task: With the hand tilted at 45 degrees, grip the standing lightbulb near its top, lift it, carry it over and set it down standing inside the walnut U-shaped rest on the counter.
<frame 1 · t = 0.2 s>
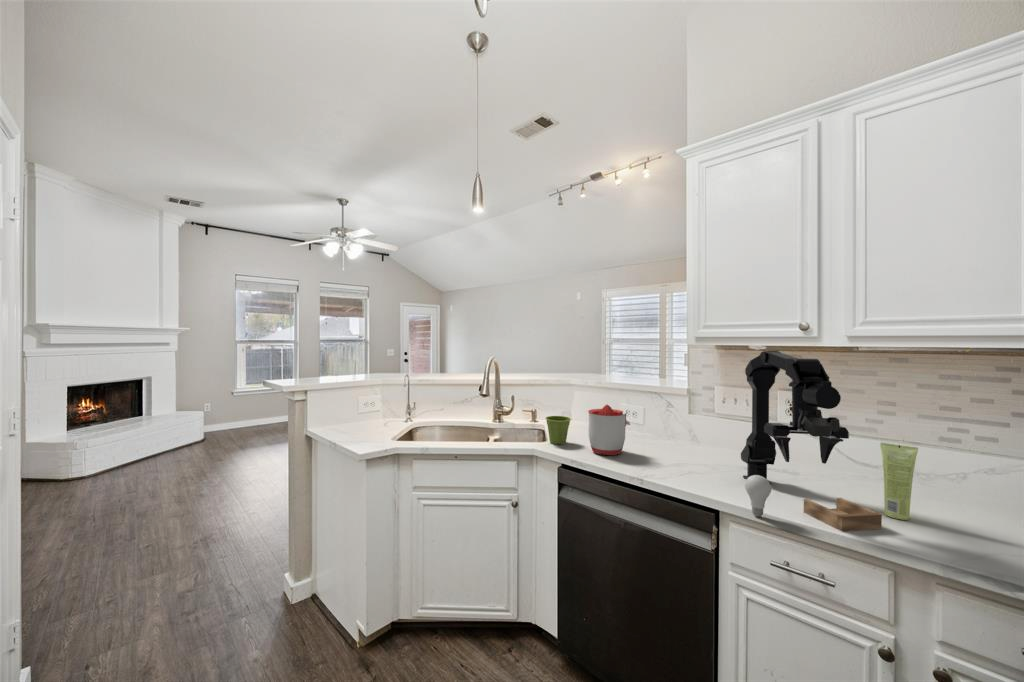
hand: (805, 462, 113), 14 cm above the table, tool pointing down, fingers open, 9 cm apart
tube: (897, 517, 113), on the table
plant pot: (558, 443, 190), on the table
citrus juicer: (608, 452, 175), on the table
lightbulb: (757, 517, 112), on the table
u rest: (840, 520, 110), on the table
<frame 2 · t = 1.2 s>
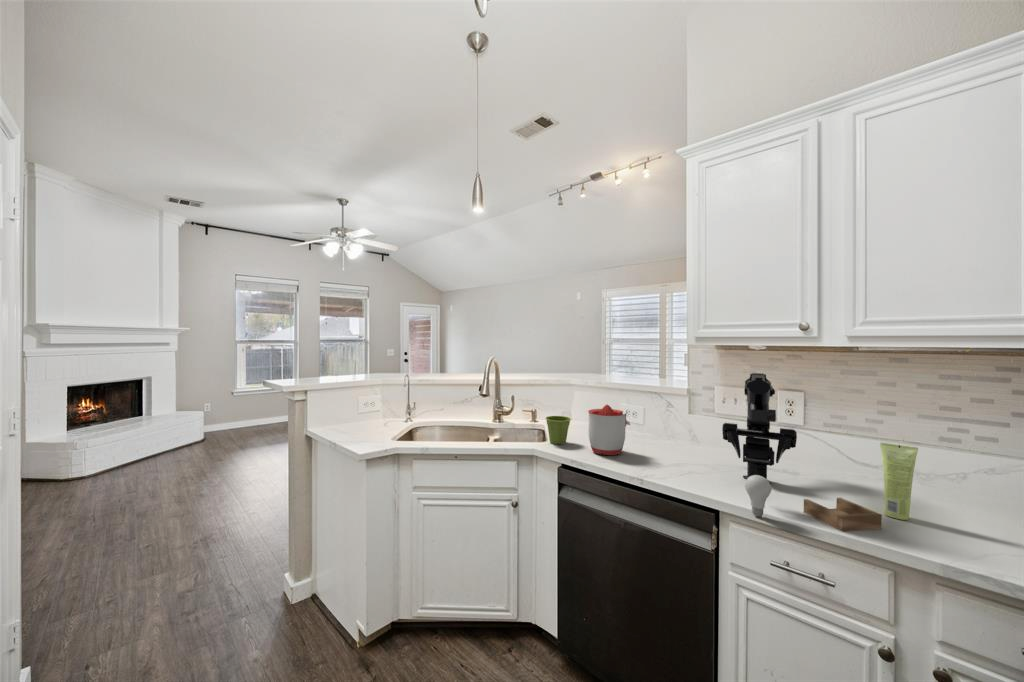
hand: (757, 459, 119), 13 cm above the table, tool tilted 45°, fingers open, 9 cm apart
nothing on the table moved.
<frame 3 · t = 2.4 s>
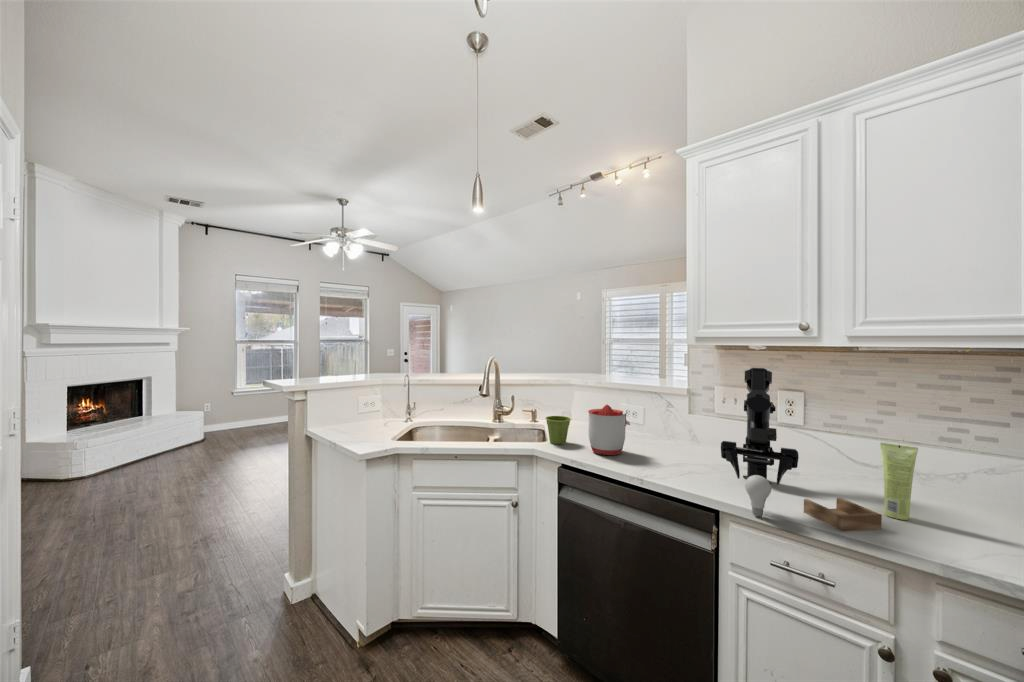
hand: (757, 480, 113), 9 cm above the table, tool tilted 45°, fingers open, 9 cm apart
nothing on the table moved.
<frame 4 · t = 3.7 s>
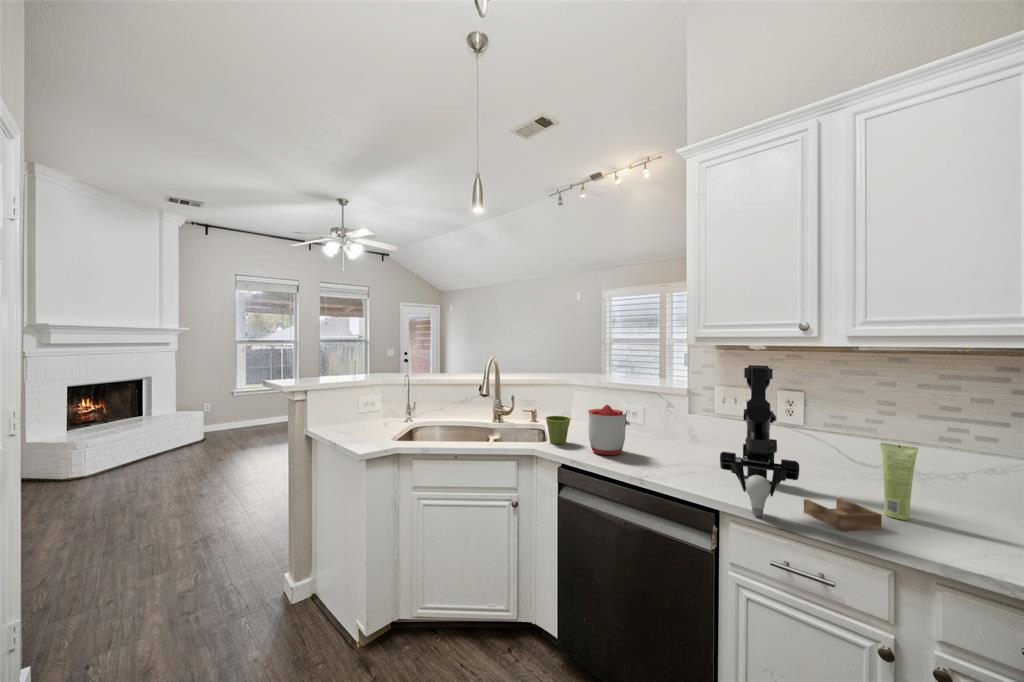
hand: (757, 493, 111), 7 cm above the table, tool tilted 45°, fingers closed on lightbulb, 6 cm apart
lightbulb: (757, 517, 112), on the table, touching gripper
everything else where it was.
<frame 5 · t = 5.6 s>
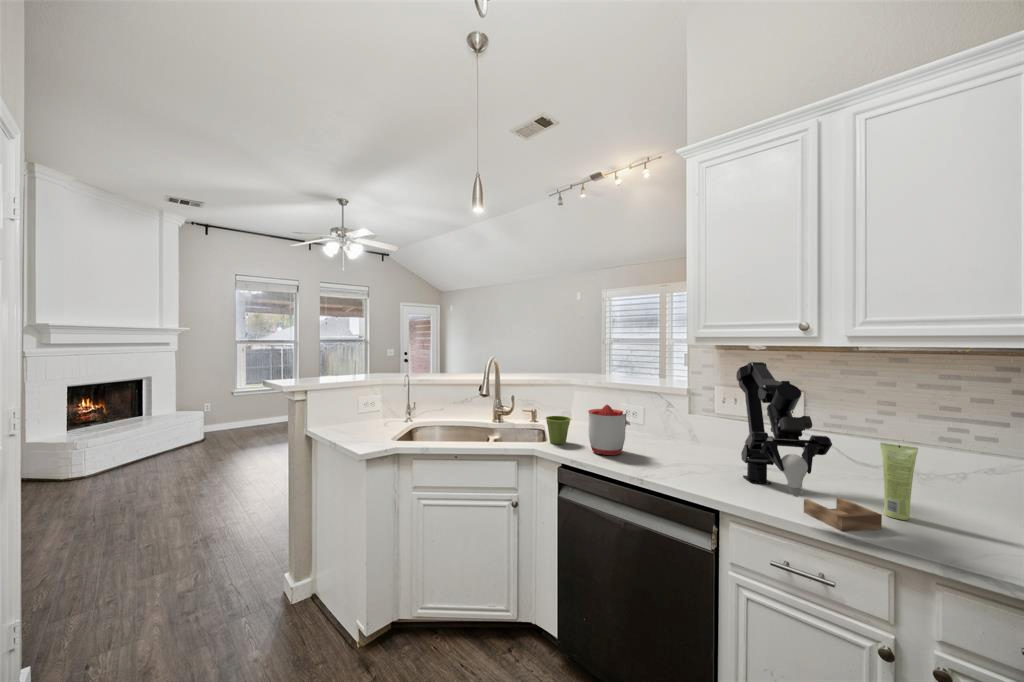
hand: (796, 471, 108), 13 cm above the table, tool tilted 45°, fingers closed on lightbulb, 6 cm apart
lightbulb: (795, 497, 110), point 6 cm above the table, touching gripper
everything else where it was.
when the fingers open (8 cm above the table, at t = 7.7 s): lightbulb stays where it is, resting on u rest.
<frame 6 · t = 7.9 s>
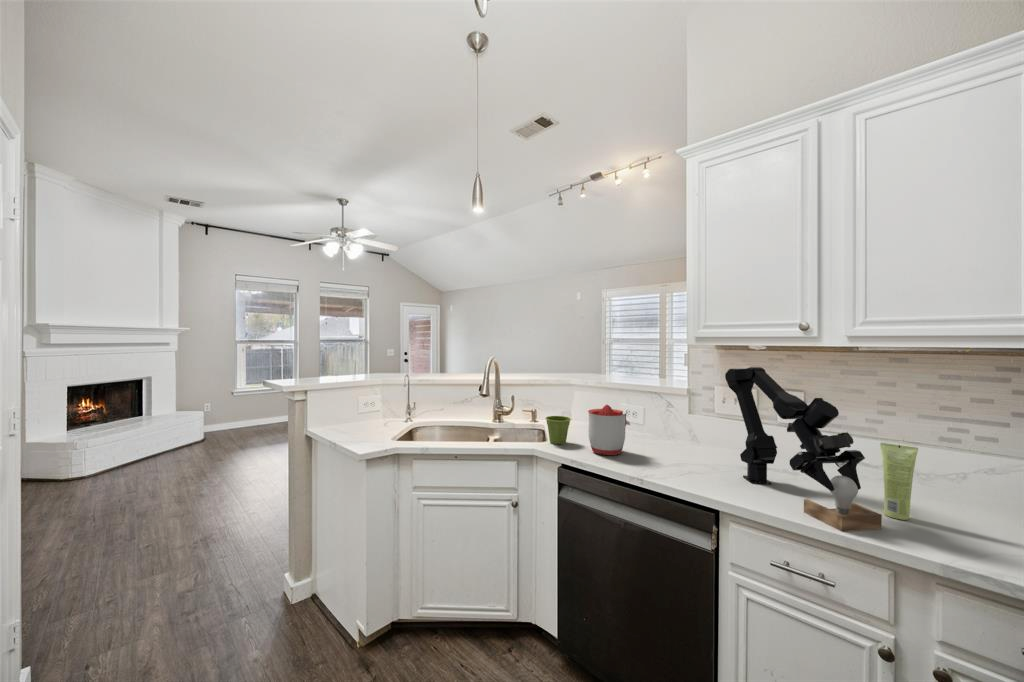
hand: (846, 489, 109), 9 cm above the table, tool tilted 45°, fingers open, 7 cm apart
lightbulb: (842, 518, 110), resting on u rest
everything else where it was.
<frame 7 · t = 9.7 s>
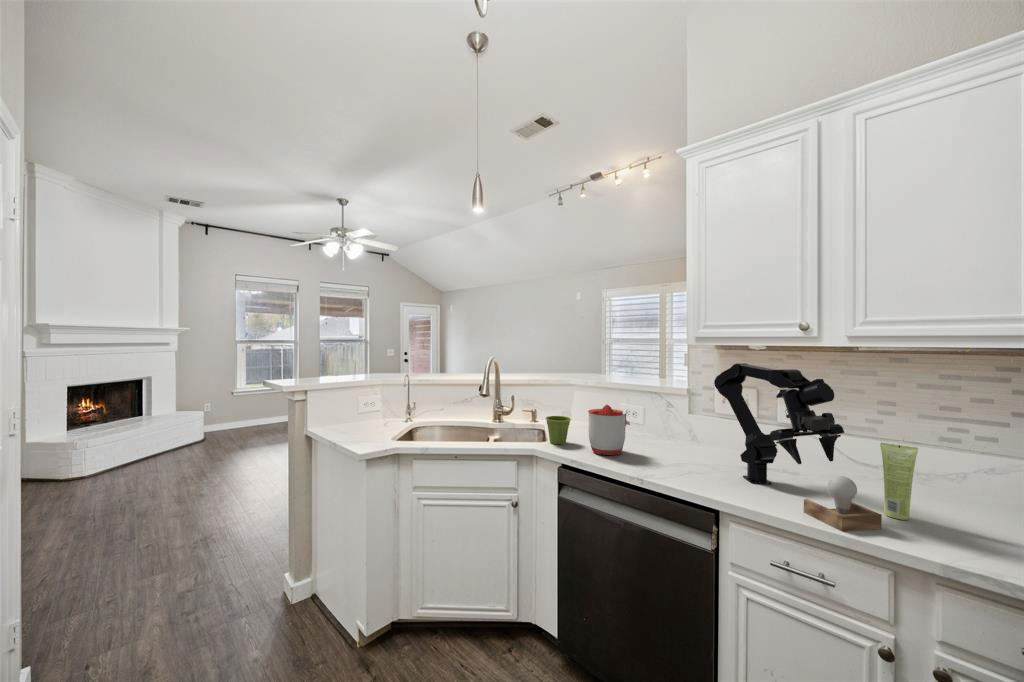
hand: (815, 462, 121), 12 cm above the table, tool tilted 20°, fingers open, 9 cm apart
nothing on the table moved.
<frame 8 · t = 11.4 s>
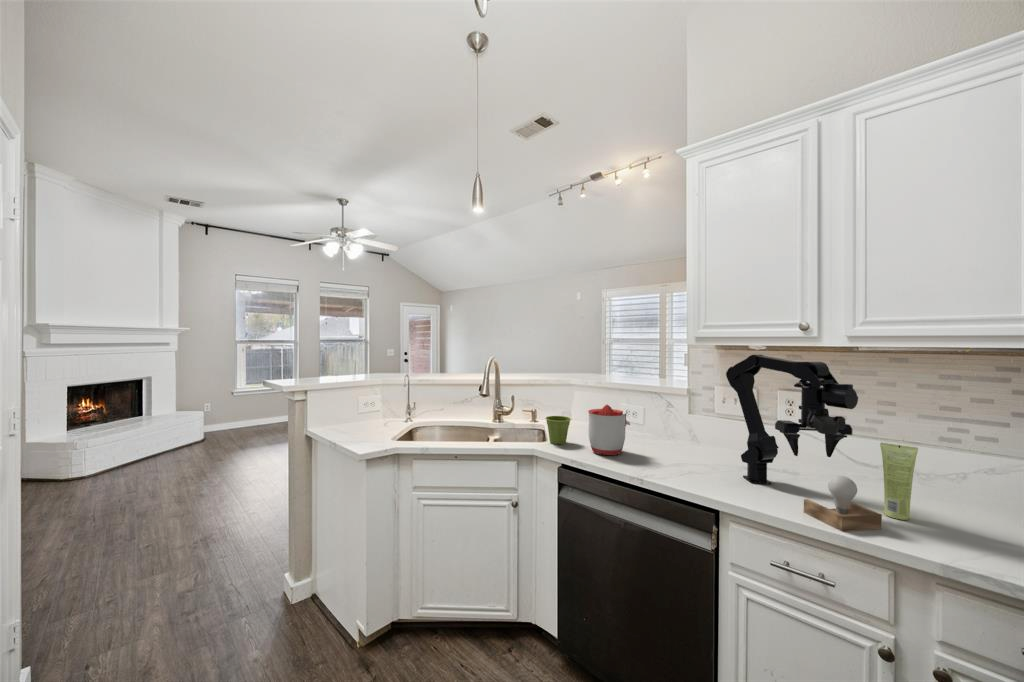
hand: (812, 456, 124), 13 cm above the table, tool pointing down, fingers open, 9 cm apart
nothing on the table moved.
at the end: lightbulb inside the target area on the u rest (0.5 cm from its centre), point 0.4 cm above the u rest's base; the gripper is holding nothing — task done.
